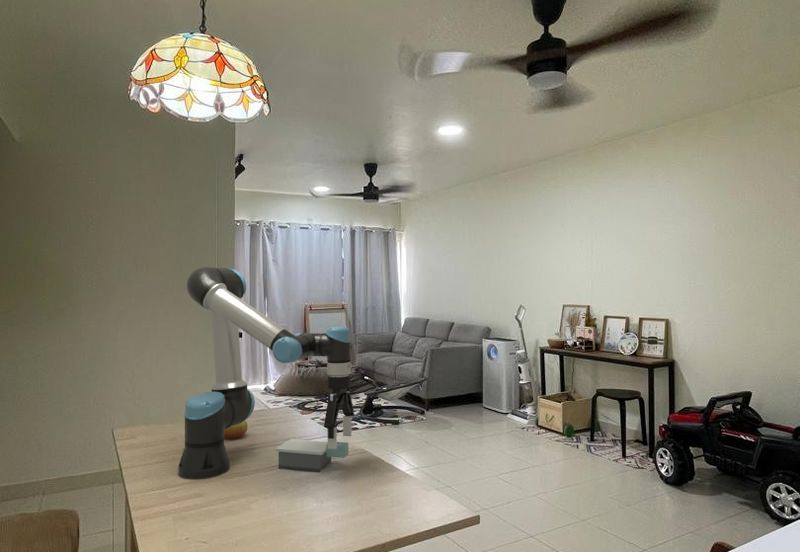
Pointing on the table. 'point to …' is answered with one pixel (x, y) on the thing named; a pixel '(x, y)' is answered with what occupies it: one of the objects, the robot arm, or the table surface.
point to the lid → (314, 448)
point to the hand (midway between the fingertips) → (340, 442)
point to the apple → (236, 431)
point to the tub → (303, 461)
